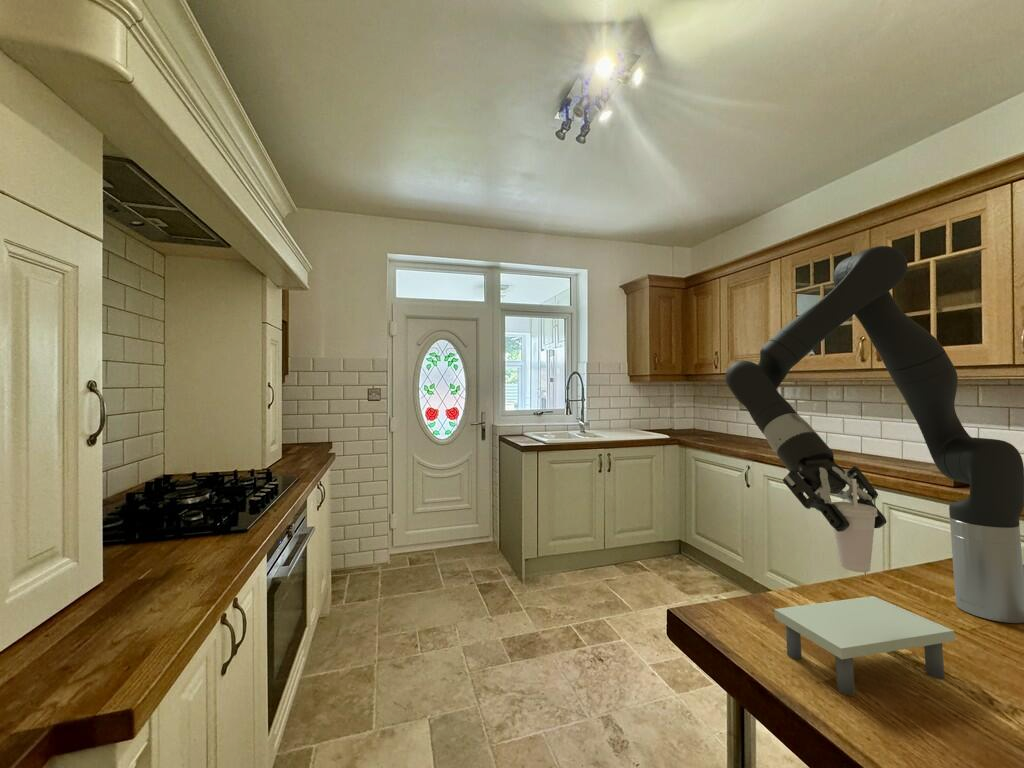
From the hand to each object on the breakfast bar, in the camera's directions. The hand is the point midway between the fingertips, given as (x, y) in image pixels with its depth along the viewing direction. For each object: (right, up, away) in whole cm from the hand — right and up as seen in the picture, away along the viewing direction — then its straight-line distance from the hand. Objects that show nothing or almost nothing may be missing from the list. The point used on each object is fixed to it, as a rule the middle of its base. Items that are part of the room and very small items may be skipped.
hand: (862, 527), depth 68 cm
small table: (0, -22, +1) cm, 22 cm away
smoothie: (0, -7, +1) cm, 7 cm away
